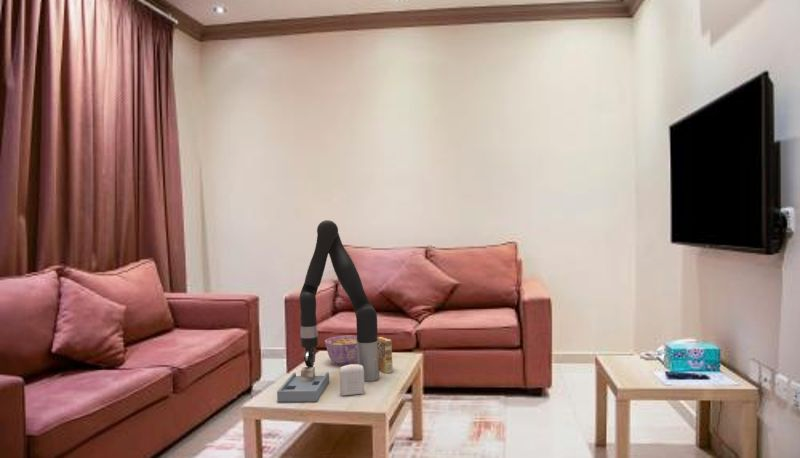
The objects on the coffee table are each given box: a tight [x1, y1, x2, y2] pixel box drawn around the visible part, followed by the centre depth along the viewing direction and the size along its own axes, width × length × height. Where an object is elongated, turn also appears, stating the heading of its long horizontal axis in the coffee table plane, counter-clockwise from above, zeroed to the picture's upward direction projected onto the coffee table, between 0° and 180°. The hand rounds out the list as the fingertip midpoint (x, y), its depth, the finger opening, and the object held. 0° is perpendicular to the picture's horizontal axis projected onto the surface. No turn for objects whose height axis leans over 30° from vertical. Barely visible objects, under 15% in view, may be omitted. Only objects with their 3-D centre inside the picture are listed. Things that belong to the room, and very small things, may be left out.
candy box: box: [377, 336, 394, 374], centre depth 276 cm, size 9×4×15 cm, turn 33°
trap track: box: [276, 372, 330, 403], centre depth 249 cm, size 16×26×4 cm, turn 176°
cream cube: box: [300, 366, 316, 382], centre depth 255 cm, size 5×5×5 cm
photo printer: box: [339, 363, 365, 397], centre depth 244 cm, size 10×4×12 cm, turn 103°
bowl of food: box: [324, 334, 358, 366], centre depth 292 cm, size 20×20×12 cm
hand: (310, 374), depth 261 cm, fingers closed
